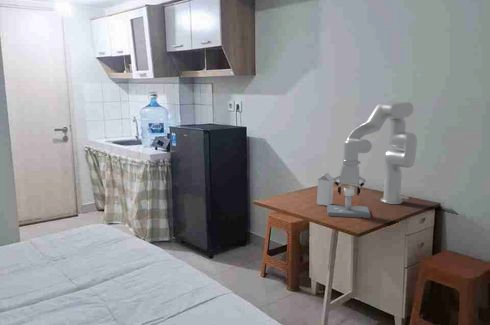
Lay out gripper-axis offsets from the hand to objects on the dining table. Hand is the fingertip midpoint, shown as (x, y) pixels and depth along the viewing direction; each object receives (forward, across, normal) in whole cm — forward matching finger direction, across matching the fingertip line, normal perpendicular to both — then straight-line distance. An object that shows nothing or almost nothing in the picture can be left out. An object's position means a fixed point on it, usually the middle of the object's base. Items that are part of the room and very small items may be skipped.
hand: (348, 194), depth 232 cm
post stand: (+10, 0, 0) cm, 10 cm away
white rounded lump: (0, 0, 0) cm, 0 cm away
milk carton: (+11, +12, -16) cm, 23 cm away
